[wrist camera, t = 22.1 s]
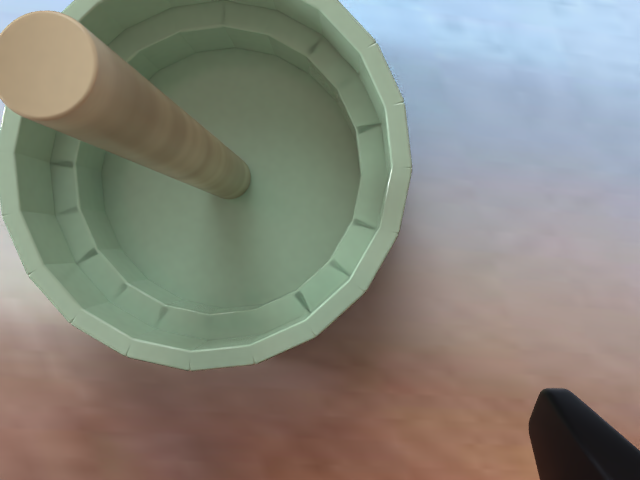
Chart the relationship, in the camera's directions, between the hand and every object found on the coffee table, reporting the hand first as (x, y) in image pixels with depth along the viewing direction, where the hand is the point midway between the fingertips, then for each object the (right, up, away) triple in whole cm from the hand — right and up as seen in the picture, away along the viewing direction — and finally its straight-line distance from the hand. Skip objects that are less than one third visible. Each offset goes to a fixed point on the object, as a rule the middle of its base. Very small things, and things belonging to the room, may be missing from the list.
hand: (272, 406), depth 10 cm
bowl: (-2, +5, +13) cm, 14 cm away
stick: (-3, +5, +12) cm, 13 cm away
